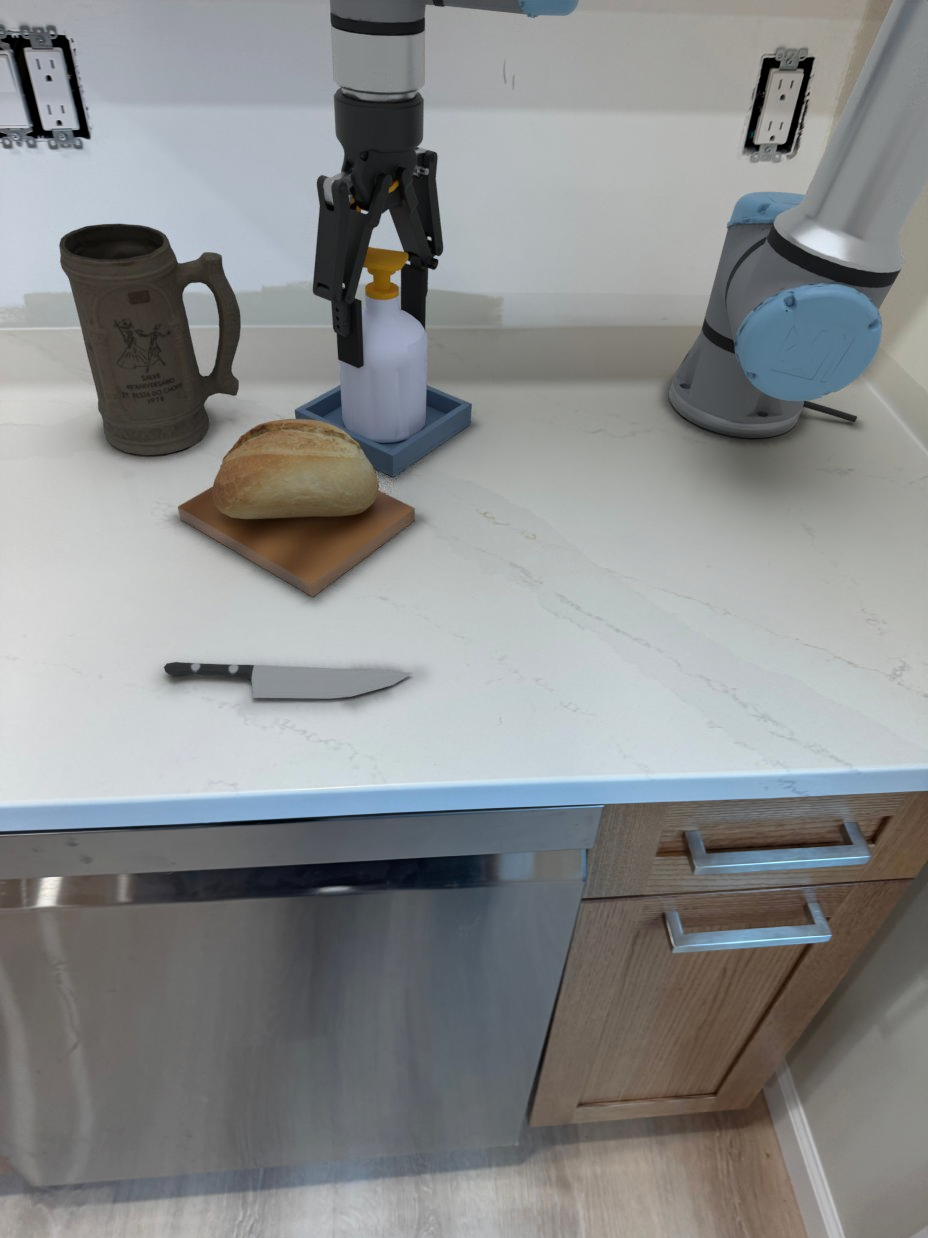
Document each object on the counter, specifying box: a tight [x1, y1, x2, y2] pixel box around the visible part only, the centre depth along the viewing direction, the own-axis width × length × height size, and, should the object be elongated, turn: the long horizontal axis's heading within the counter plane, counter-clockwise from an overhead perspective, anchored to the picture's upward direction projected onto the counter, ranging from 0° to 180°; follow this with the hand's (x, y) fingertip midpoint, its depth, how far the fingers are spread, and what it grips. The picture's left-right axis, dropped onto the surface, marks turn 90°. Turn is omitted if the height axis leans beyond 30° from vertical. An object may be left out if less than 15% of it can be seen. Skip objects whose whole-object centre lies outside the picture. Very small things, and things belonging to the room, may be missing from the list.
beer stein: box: [58, 223, 242, 456], centre depth 82 cm, size 15×11×20 cm
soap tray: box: [294, 384, 473, 478], centre depth 90 cm, size 14×14×3 cm
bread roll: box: [212, 418, 380, 519], centre depth 74 cm, size 10×15×8 cm, turn 103°
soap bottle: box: [338, 181, 428, 443], centre depth 82 cm, size 9×9×25 cm
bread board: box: [177, 486, 416, 598], centre depth 77 cm, size 17×14×2 cm
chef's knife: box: [163, 661, 413, 700], centre depth 63 cm, size 19×1×3 cm
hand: (383, 345), depth 84 cm, fingers closed on soap bottle, 9 cm apart
